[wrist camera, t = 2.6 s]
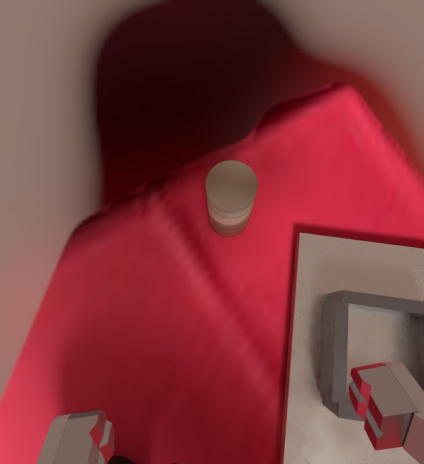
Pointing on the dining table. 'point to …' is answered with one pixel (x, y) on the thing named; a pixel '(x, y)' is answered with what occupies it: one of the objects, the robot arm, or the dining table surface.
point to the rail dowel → (230, 197)
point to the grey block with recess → (347, 342)
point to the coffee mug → (121, 460)
